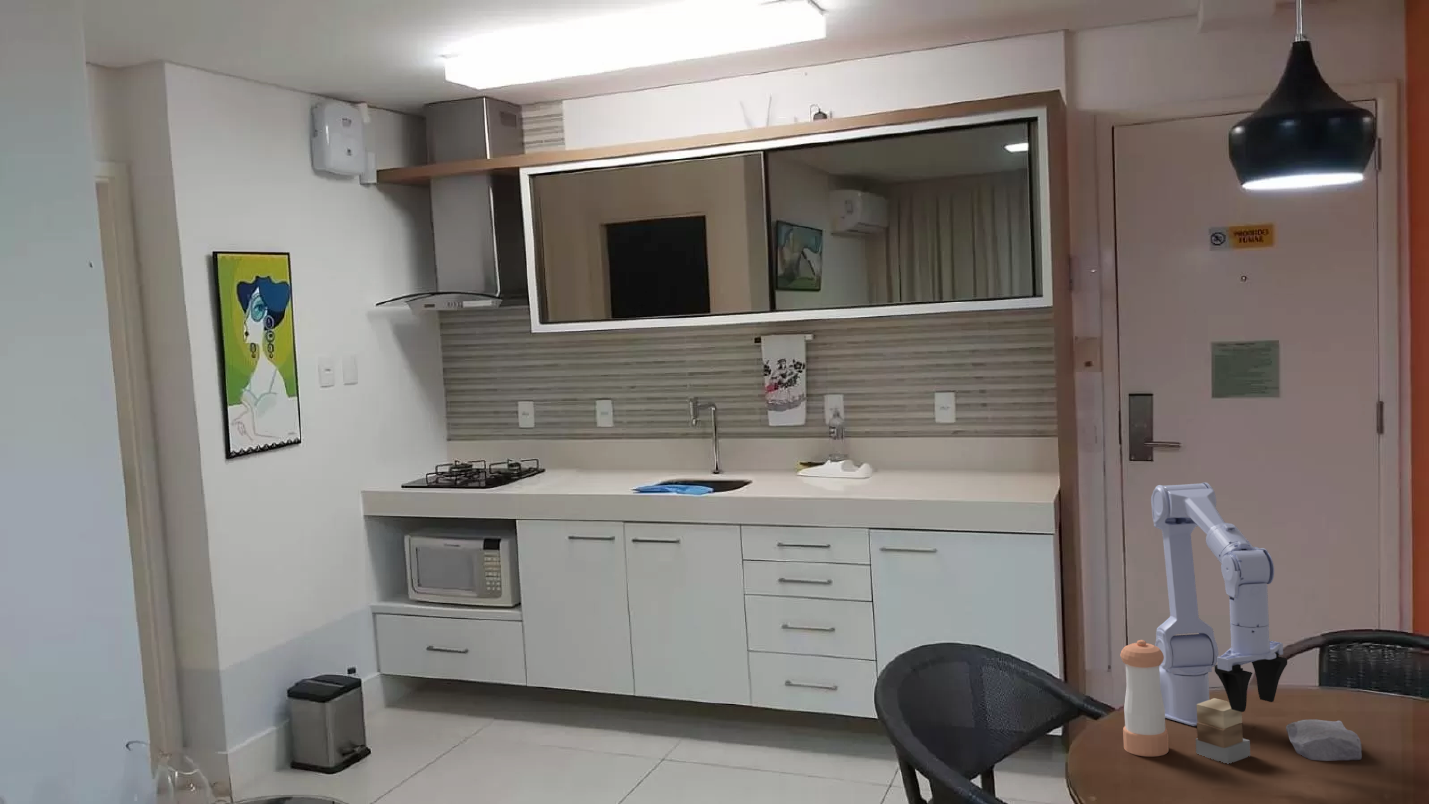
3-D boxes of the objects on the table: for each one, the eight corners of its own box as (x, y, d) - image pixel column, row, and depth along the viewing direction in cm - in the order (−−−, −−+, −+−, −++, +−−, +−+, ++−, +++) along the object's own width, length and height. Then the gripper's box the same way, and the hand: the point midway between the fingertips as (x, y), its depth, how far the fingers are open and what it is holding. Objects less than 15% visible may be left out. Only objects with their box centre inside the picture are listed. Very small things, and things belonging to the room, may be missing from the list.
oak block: (1197, 721, 190) (1196, 704, 189) (1215, 715, 192) (1214, 698, 192) (1224, 729, 185) (1223, 711, 185) (1242, 722, 188) (1241, 704, 188)
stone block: (1306, 772, 184) (1369, 760, 183) (1298, 744, 184) (1361, 732, 183) (1282, 749, 196) (1342, 738, 194) (1275, 722, 196) (1335, 711, 194)
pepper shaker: (1175, 747, 194) (1170, 638, 193) (1159, 759, 188) (1154, 648, 188) (1133, 739, 199) (1128, 633, 198) (1117, 751, 193) (1112, 642, 192)
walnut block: (1197, 740, 189) (1196, 722, 189) (1216, 733, 192) (1215, 716, 192) (1223, 748, 185) (1223, 730, 185) (1242, 741, 187) (1242, 723, 187)
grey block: (1196, 755, 190) (1195, 738, 190) (1218, 748, 193) (1218, 731, 193) (1227, 766, 185) (1227, 748, 185) (1250, 757, 188) (1249, 740, 188)
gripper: (1244, 635, 174) (1247, 721, 175) (1299, 619, 182) (1302, 701, 182) (1204, 627, 181) (1207, 710, 181) (1259, 612, 188) (1262, 692, 188)
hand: (1252, 705), depth 182 cm, fingers open, 7 cm apart
